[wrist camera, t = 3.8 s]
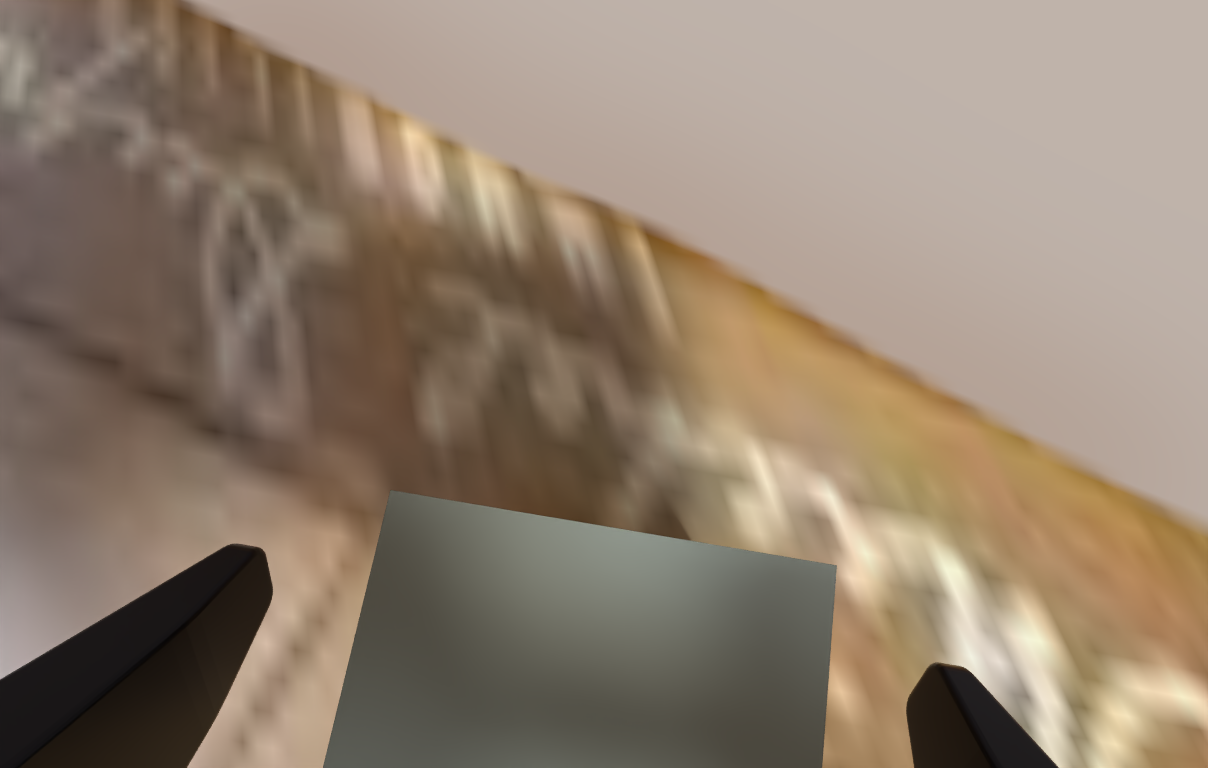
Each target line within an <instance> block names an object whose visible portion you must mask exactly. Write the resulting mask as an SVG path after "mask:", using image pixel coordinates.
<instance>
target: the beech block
mask: <svg viewBox="0 0 1208 768" xmlns="http://www.w3.org/2000/svg"><path fill="white" fill-rule="evenodd" d="M836 569H837V565H831V564H825V563H819V562H813V561H807V560H801V559H795V558H790V557H784V556H778V555H772V554H766V553H760V552H754V551H748V550H742V549H736V548H730V547H724V546H719V545H713V544H707V543H701V542H695V541H689V540H683V539H677V538H671V537H665V536H659V535H653V534H648V533H642V532H636V531H630V530H624V529H618V528H612V527H606V526H600V525H594V524H588V523H582V522H577V521H571V520H565V519H559V518H553V517H547V516H541V515H535V514H529V513H523V512H517V511H511V510H505V509H500V508H494V507H488V506H482V505H476V504H470V503H464V502H458V501H452V500H446V499H440V498H434V497H429V496H423V495H417V494H411V493H405V492H399V491H393V490H390V494H389V498H388V502H387V506H386V510H385V515H384V519H383V523H382V527H381V531H380V535H379V539H378V543H377V547H376V552H375V556H374V560H373V564H372V568H371V572H370V576H369V580H368V585H367V589H366V593H365V597H364V601H363V605H362V609H361V613H360V617H359V622H358V626H357V630H356V634H355V638H354V642H353V646H352V650H351V654H350V659H349V663H348V667H347V671H346V675H345V679H344V683H343V687H342V692H341V696H340V700H339V704H338V708H337V712H336V716H335V720H334V724H333V729H332V733H331V737H330V741H329V745H328V749H327V753H326V757H325V761H324V766H323V768H822V761H823V747H824V734H825V720H826V706H827V692H828V679H829V665H830V651H831V638H832V624H833V610H834V596H835V583H836Z"/></svg>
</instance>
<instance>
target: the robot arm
mask: <svg viewBox="0 0 1208 768" xmlns="http://www.w3.org/2000/svg"><path fill="white" fill-rule="evenodd" d="M272 595H273V586H272V581H271V576H270V572H269V567H268V562H267V558H266V554H265V552H264V551H263V550H262V549H261V548H259V547H254V546H249V545H243V544H230V545H227V546H225V547H223V548H221V549H220V550H218V551H216V552H215V553H213V554H211V555H210V556H208V557H206V558H204V559H203V560H201V561H199V562H198V563H196V564H194V565H193V566H191V567H189V568H188V569H186V570H184V571H183V572H181V573H179V574H177V575H176V576H174V577H172V578H171V579H169V580H167V581H166V582H164V583H162V584H161V585H159V586H157V587H156V588H154V589H152V590H151V591H149V592H147V593H145V594H144V595H142V596H140V597H139V598H137V599H135V600H134V601H132V602H130V603H129V604H127V605H125V606H124V607H122V608H120V609H118V610H117V611H115V612H113V613H112V614H110V615H108V616H107V617H105V618H103V619H102V620H100V621H98V622H97V623H95V624H93V625H91V626H90V627H88V628H86V629H85V630H83V631H81V632H80V633H78V634H76V635H75V636H73V637H71V638H70V639H68V640H66V641H64V642H63V643H61V644H59V645H58V646H56V647H54V648H53V649H51V650H49V651H48V652H46V653H44V654H43V655H41V656H39V657H38V658H36V659H34V660H32V661H31V662H29V663H27V664H26V665H24V666H22V667H21V668H19V669H17V670H16V671H14V672H12V673H11V674H9V675H7V676H5V677H4V678H2V679H0V768H187V766H188V765H189V763H190V761H191V760H192V758H193V756H194V755H195V753H196V751H197V750H198V748H199V746H200V745H201V743H202V741H203V740H204V738H205V736H206V735H207V733H208V731H209V729H210V728H211V726H212V724H213V722H214V721H215V719H216V717H217V715H218V713H219V711H220V709H221V707H222V705H223V703H224V701H225V699H226V697H227V695H228V693H229V691H230V689H231V687H232V684H233V682H234V680H235V678H236V676H237V674H238V672H239V670H240V667H241V665H242V663H243V661H244V659H245V657H246V655H247V653H248V650H249V648H250V646H251V644H252V642H253V640H254V638H255V636H256V633H257V631H258V629H259V627H260V625H261V623H262V621H263V619H264V617H265V614H266V612H267V610H268V608H269V606H270V603H271V600H272ZM906 714H907V722H908V729H909V735H910V742H911V749H912V756H913V763H914V768H1059V767H1058V766H1057V765H1056V764H1055V763H1054V762H1053V761H1052V760H1051V759H1050V758H1049V756H1048V755H1047V754H1046V753H1045V752H1044V751H1043V750H1042V749H1041V748H1040V747H1039V746H1038V744H1037V743H1036V742H1035V741H1034V740H1033V739H1032V738H1031V737H1030V736H1029V735H1028V734H1027V732H1026V731H1025V730H1024V729H1023V728H1022V727H1021V726H1020V725H1019V724H1018V723H1017V722H1016V720H1015V719H1014V718H1013V717H1012V716H1011V715H1010V714H1009V713H1008V712H1007V711H1006V710H1005V709H1004V707H1003V706H1002V705H1001V704H1000V703H999V702H998V701H997V700H996V699H995V698H994V697H993V695H992V694H991V693H990V692H989V691H988V690H987V689H986V688H985V687H984V686H983V685H982V683H981V682H980V681H979V680H978V679H977V678H976V677H975V676H974V675H973V674H972V673H971V672H970V671H969V670H967V669H966V668H964V667H961V666H956V665H950V664H944V663H933V664H931V665H930V666H929V667H928V668H927V669H926V671H925V672H924V674H923V675H922V677H921V679H920V680H919V682H918V683H917V685H916V686H915V688H914V689H913V691H912V692H911V694H910V696H909V698H908V701H907V707H906Z"/></svg>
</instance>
